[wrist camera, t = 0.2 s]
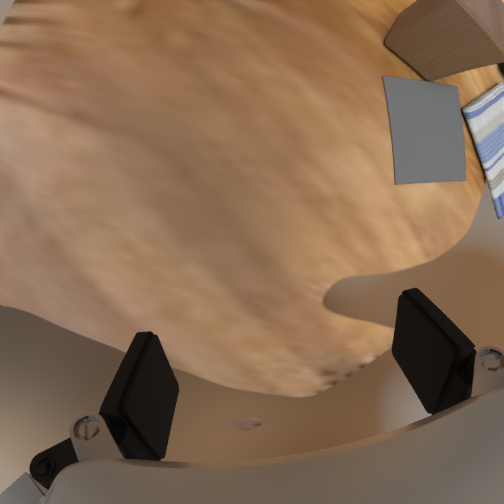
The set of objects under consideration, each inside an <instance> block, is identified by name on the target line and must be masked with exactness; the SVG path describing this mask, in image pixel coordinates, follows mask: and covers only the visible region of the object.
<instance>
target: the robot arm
mask: <svg viewBox="0 0 504 504" xmlns="http://www.w3.org/2000/svg"><path fill="white" fill-rule="evenodd" d="M474 347H475V345H474V344H473V343H472V342H471V341H470V340H469V339H468V337H466V335H464V333H463V332H462V331H461V330H460V329H459V328H458V327H457V326H456V325H455V324H454V323H453V322H452V321H451V320H450V319H449V318H448V317H447V316H446V315H445V314H444V313H443V312H442V311H441V310H440V309H439V308H438V307H437V306H436V305H435V304H433V302H432V301H431V300H429V299H428V298H427V297H426V296H425V295H424V294H423V293H422V292H421V291H420V290H419V289H418V288H413V289H409V290H404V291H403V292H402V295H400V296H399V298H398V308H397V316H396V324H395V331H394V338H393V344H392V354H393V356H394V358H395V360H396V361H397V363H398V365H399V366H400V368H401V369H402V371H403V373H404V374H405V376H406V378H407V379H408V381H409V382H410V384H411V386H412V387H413V389H414V391H415V393H416V394H417V396H418V398H419V399H420V401H421V403H422V405H423V406H424V408H425V410H426V411H427V412H428V413H429V414H430V413H431V414H432V415H431V416H429V417H427V418H424V419H422V420H419V421H417V422H414V423H412V424H409V425H406V426H403V427H401V428H398V429H395V430H392V431H389V432H386V433H384V434H380V435H377V436H374V437H370V438H367V439H363V440H360V441H356V442H352V443H348V444H344V445H341V446H336V447H332V448H327V449H323V450H318V451H313V452H308V453H302V454H296V455H290V456H283V457H275V458H266V459H257V460H246V461H229V462H168V461H161V458H164V457H165V454H166V449H167V444H168V439H169V434H170V430H171V425H172V420H173V415H174V411H175V406H176V402H177V397H178V393H179V386H178V382H177V380H176V378H175V376H174V373H173V371H172V369H171V367H170V364H169V362H168V360H167V357H166V355H165V352H164V350H163V348H162V345H161V343H160V340H159V338H158V336H157V335H154V334H153V333H152V332H151V331H149V332H138V333H136V335H135V337H134V339H133V341H132V343H131V345H130V347H129V349H128V351H127V353H126V355H125V357H124V359H123V361H122V363H121V365H120V367H119V369H118V371H117V373H116V375H115V378H114V380H113V382H112V384H111V386H110V388H109V390H108V392H107V395H106V397H105V399H104V401H103V403H102V405H101V408H100V412H99V414H97V413H85V414H82V415H80V416H79V417H77V418H76V419H75V420H74V421H73V422H72V424H71V426H70V430H69V432H70V438H68V439H66V440H64V441H62V442H61V443H59V444H57V445H55V446H53V447H51V448H49V449H47V450H45V451H43V452H41V453H39V454H38V455H36V456H35V457H34V458H33V459H32V461H31V464H30V474H28V473H27V472H25V473H24V474H23V475H22V476H21V477H19V479H17V480H16V481H15V482H14V483H13V484H12V485H10V486H9V487H8V488H7V489H6V490H5V491H4V492H2V493H1V495H0V504H504V351H502V350H501V349H499V348H497V347H493V346H486V347H482V348H481V349H479V350H478V352H476V350H475V349H474Z"/></svg>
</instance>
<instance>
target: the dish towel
mask: <svg viewBox="0 0 504 504" xmlns="http://www.w3.org/2000/svg"><path fill="white" fill-rule="evenodd" d="M463 113H464V116H465V118H466V120H467V123H468V126H469V128H470V131H471V134H472V136H473V139H474V143H475V146H476V149H477V152H478V155H479V157H480V160H481V163H482V166H483V168H484V171H485V175H486V178H487V183H488V186H489V189H490V192H491V196H492V200H493V204H494V207H495V211H496V215H497V218H498V219H500V218H502V216H504V83H503V82H501V83H500V84H498V85H497V86H494V87H493V88H491V89H490V90H488V91H487V92H485V93H484V94H482V95H481V96H479V97H478V98H477V99H475V100H474V101H473V102H471V103H470V104H469V105H467V106H466V107H464V108H463Z"/></svg>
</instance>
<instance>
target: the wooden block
mask: <svg viewBox="0 0 504 504" xmlns="http://www.w3.org/2000/svg"><path fill="white" fill-rule="evenodd" d="M385 44H386V46H387V47H388V48H390V49H391V50H392V51H393V52H395V53H396V54H397V55H398V56H400V57H401V58H402V59H403V60H404V61H406V62H407V63H408V64H409V65H410V66H411V67H413V68H414V69H415V70H416V71H417V72H418V73H419V74H420V75H422V76H423V77H424V78H425V79H426V80H428V81H433V80H436V79H439V78H442V77H446V76H449V75H453V74H456V73H460V72H464V71H468V70H471V69H475V68H480V67H484V66H488V65H492V64H497V63H502V62H504V3H503V2H502V1H501V0H417V1H416V2H414V3H413V4H412V5H410V6H409V7H408V8H406V9H405V10H404V11H403V12H401V14H400V16H399V17H398V19H397V21H396V22H395V24H394V26H393V27H392V29H391V31H390V32H389V34H388V35H387V37H386V39H385Z"/></svg>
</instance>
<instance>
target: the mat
mask: <svg viewBox="0 0 504 504" xmlns="http://www.w3.org/2000/svg"><path fill="white" fill-rule="evenodd" d="M382 79H383V84H384V90H385V96H386V102H387V108H388V115H389V123H390V131H391V140H392V150H393V162H394V177H395V185H398V184H413V183H429V182H449V181H466V159H465V143H464V132H463V123H462V115H461V107H460V101H459V95H458V89H457V87H455V86H450V85H445V84H439V83H433V82H427V81H421V80H414V79H406V78H397V77H386V76H382Z"/></svg>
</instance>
